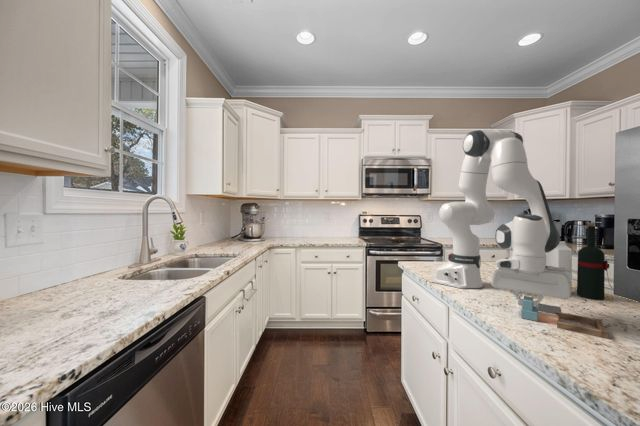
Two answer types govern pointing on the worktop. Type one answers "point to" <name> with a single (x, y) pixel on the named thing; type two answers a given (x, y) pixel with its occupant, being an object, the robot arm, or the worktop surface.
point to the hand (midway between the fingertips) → (528, 306)
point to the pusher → (529, 309)
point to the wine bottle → (591, 269)
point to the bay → (580, 329)
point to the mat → (549, 308)
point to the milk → (560, 258)
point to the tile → (547, 318)
